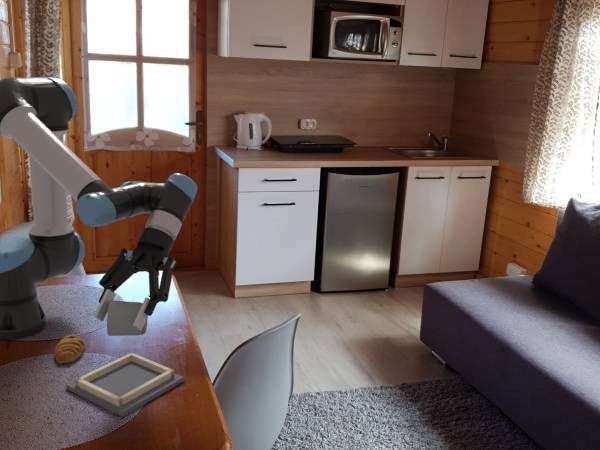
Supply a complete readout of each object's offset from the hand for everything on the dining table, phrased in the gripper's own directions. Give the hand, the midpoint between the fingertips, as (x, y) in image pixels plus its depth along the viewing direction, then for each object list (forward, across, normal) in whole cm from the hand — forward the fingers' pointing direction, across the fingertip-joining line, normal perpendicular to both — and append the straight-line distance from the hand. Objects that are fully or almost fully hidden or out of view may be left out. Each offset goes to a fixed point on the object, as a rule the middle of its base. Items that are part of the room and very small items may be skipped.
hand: (117, 323), depth 129 cm
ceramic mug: (0, +1, -6) cm, 6 cm away
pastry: (+6, +21, -17) cm, 28 cm away
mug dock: (+10, 0, -13) cm, 16 cm away
